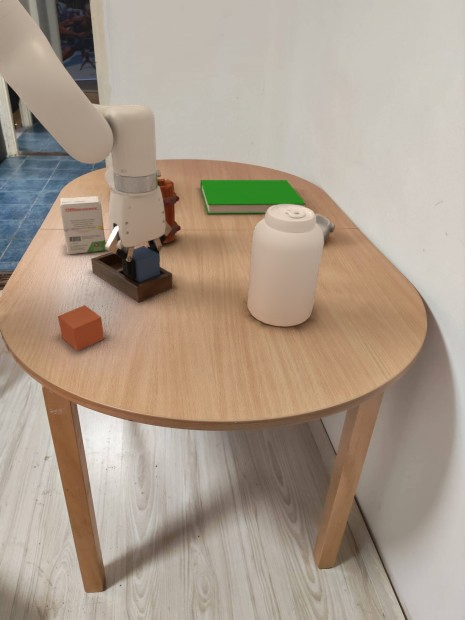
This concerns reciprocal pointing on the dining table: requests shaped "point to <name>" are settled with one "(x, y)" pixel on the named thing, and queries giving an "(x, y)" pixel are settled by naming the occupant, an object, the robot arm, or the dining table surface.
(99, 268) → the dark wooden tray
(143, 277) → the cube blue
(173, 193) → the mug
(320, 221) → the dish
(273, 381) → the dining table surface
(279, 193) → the book
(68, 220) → the ink box
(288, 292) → the can
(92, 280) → the dining table surface
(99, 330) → the orange block
